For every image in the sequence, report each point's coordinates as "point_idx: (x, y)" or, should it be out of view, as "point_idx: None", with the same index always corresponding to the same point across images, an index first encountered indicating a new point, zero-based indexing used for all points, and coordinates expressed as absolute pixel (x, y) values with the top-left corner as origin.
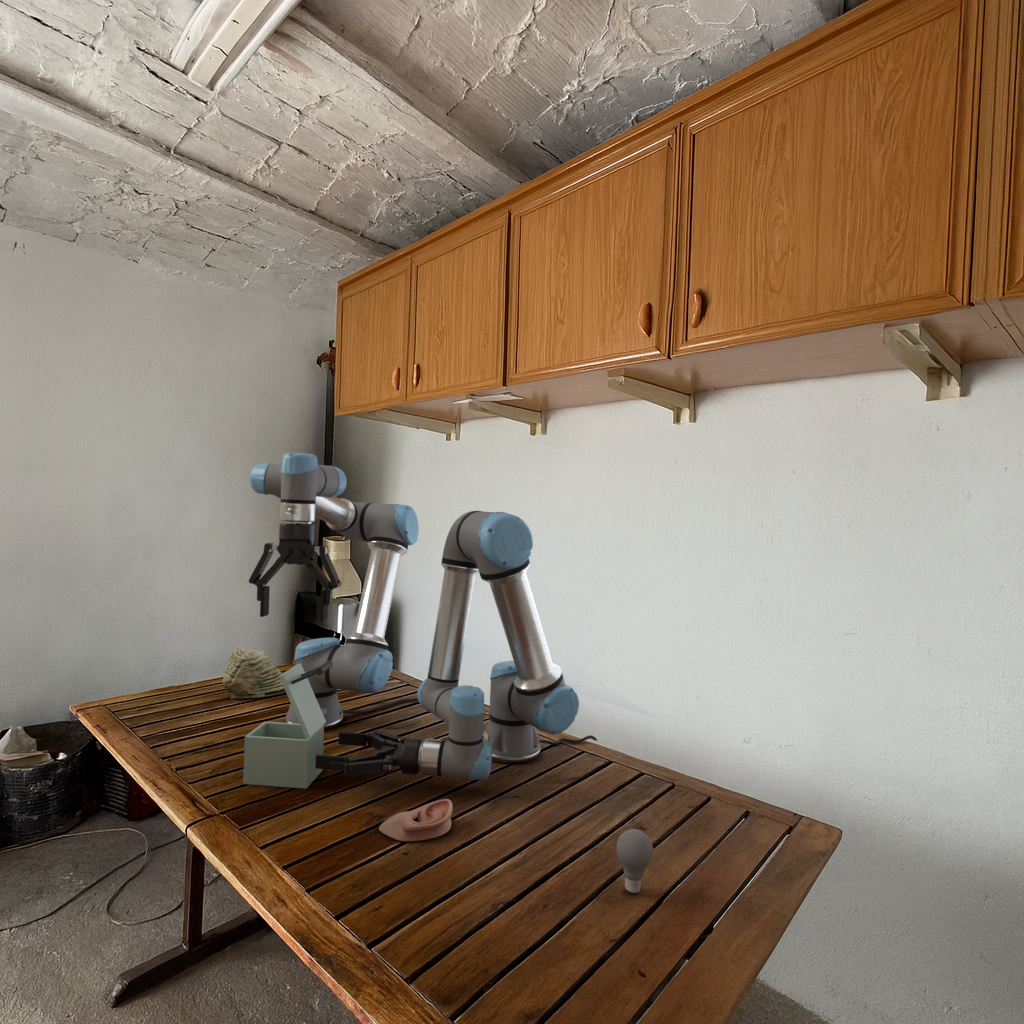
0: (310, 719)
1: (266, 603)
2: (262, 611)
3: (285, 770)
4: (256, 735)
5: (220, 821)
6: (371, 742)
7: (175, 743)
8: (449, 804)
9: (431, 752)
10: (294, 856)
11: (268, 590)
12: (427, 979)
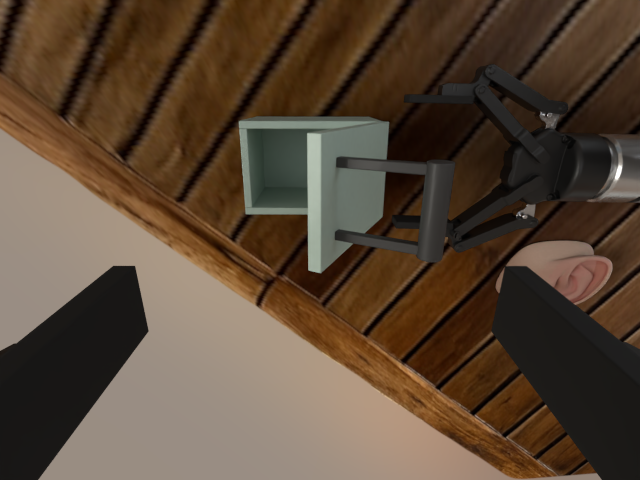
0: (375, 194)
1: (96, 347)
2: (127, 353)
3: None
4: (252, 175)
5: (289, 292)
6: (480, 105)
7: (21, 35)
8: (608, 272)
9: (620, 199)
10: (407, 344)
11: (9, 406)
12: (549, 455)
